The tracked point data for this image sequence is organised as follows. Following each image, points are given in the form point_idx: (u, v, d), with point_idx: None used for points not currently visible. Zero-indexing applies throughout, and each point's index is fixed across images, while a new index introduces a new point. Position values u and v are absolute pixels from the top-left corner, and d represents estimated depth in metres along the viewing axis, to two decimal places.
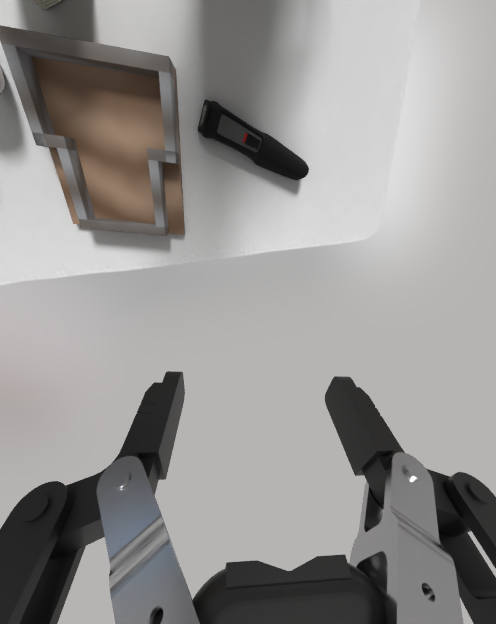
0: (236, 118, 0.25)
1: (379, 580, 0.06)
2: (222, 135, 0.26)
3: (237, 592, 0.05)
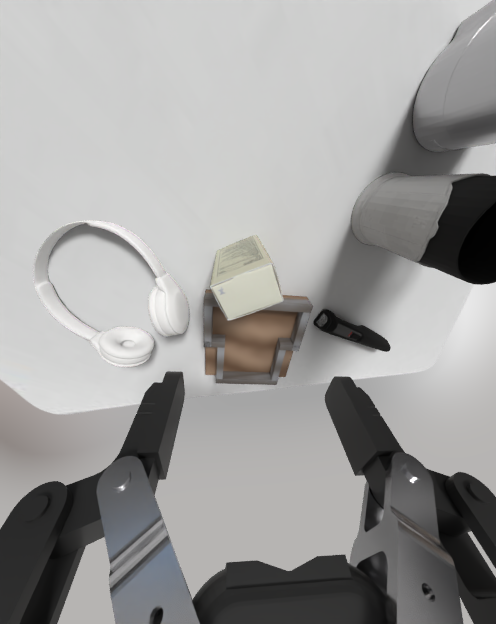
0: (347, 325, 0.35)
1: (379, 580, 0.06)
2: (334, 332, 0.35)
3: (237, 592, 0.05)
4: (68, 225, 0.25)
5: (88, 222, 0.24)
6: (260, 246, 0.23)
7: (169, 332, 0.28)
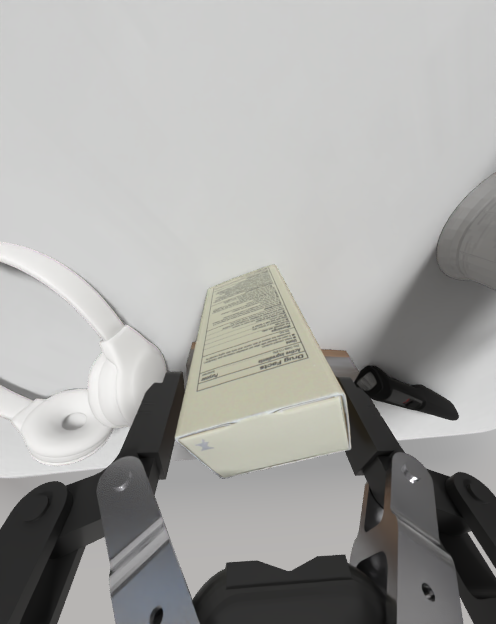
0: (404, 390, 0.23)
1: (379, 580, 0.06)
2: None
3: (237, 592, 0.05)
4: None
5: None
6: (289, 302, 0.11)
7: (127, 426, 0.17)
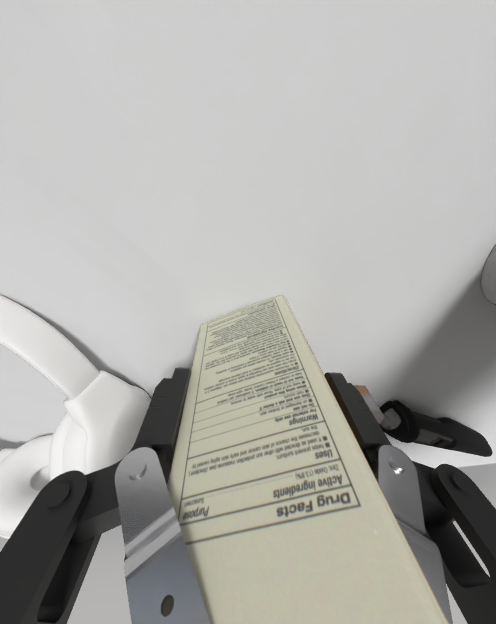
0: (433, 429, 0.20)
1: None
2: None
3: None
4: None
5: None
6: (310, 365, 0.08)
7: None
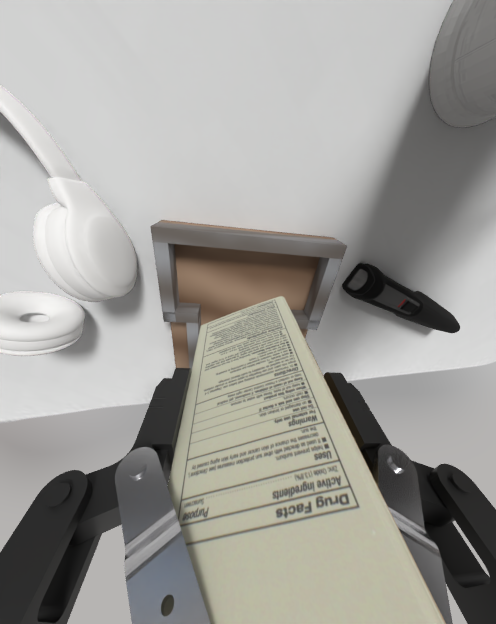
0: (399, 287, 0.21)
1: None
2: (377, 301, 0.22)
3: None
4: None
5: None
6: (310, 367, 0.08)
7: (84, 290, 0.15)
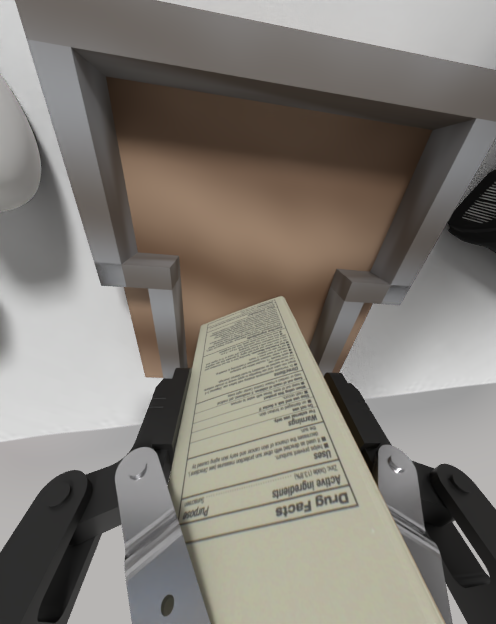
0: None
1: None
2: None
3: None
4: None
5: None
6: (310, 366, 0.08)
7: None
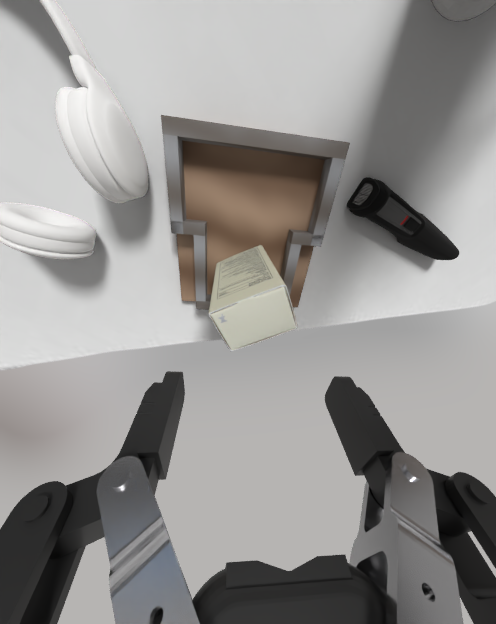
0: (402, 201, 0.22)
1: (379, 580, 0.06)
2: (380, 216, 0.23)
3: (237, 592, 0.05)
4: None
5: None
6: (267, 260, 0.19)
7: (101, 173, 0.16)
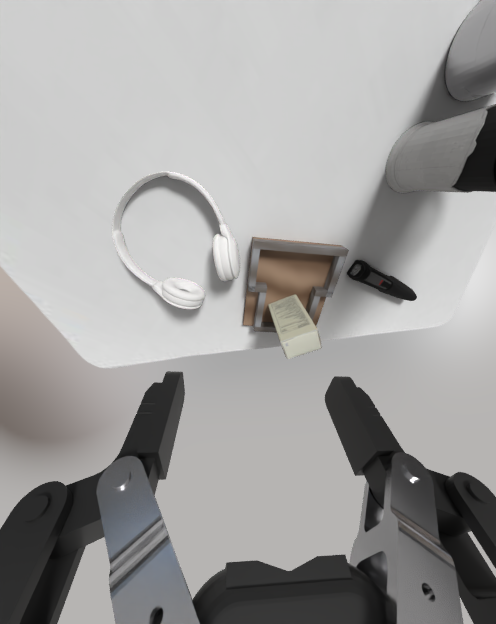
0: (378, 273, 0.39)
1: (379, 580, 0.06)
2: (366, 281, 0.39)
3: (237, 592, 0.05)
4: (150, 175, 0.29)
5: (169, 172, 0.28)
6: (304, 310, 0.36)
7: (228, 274, 0.32)
